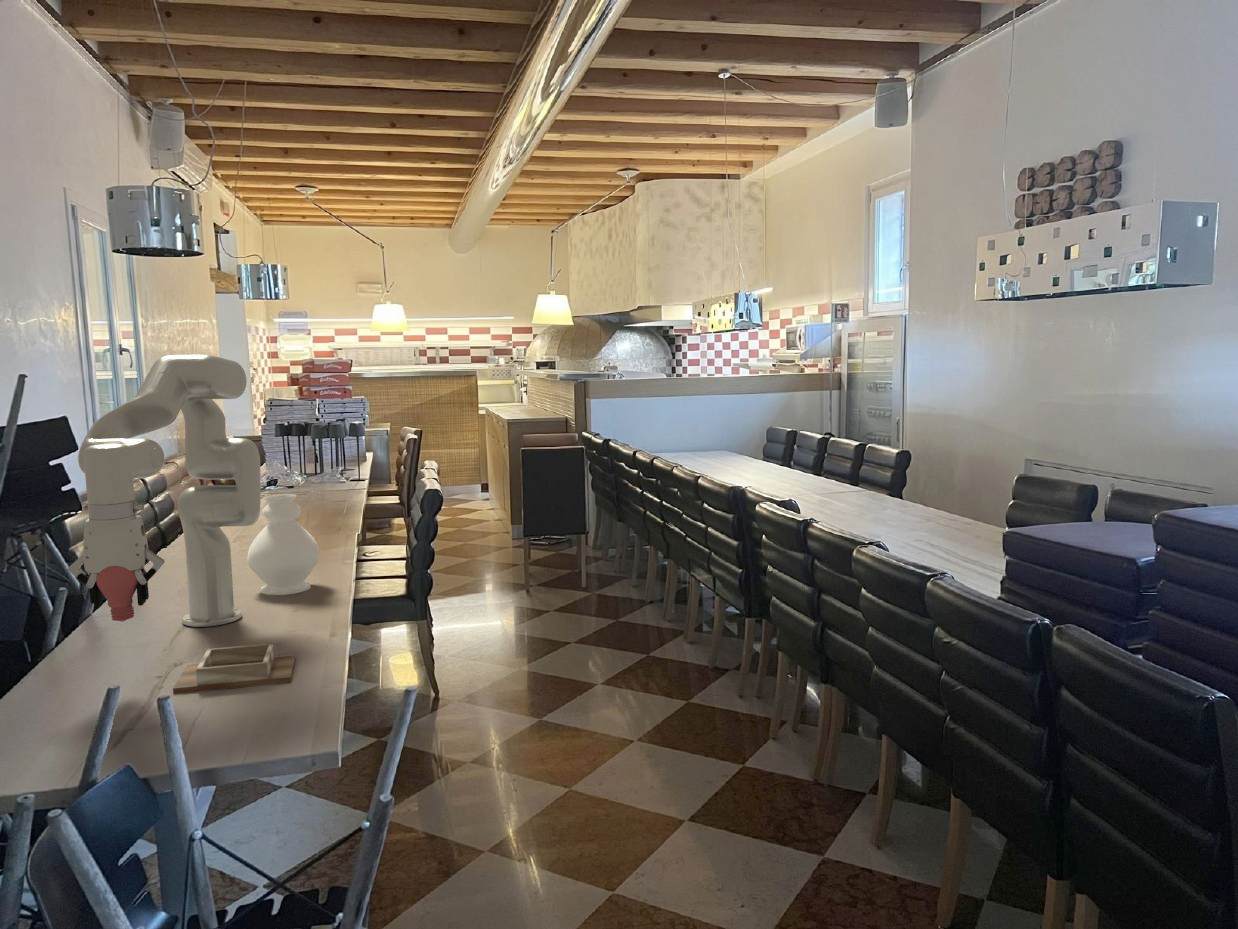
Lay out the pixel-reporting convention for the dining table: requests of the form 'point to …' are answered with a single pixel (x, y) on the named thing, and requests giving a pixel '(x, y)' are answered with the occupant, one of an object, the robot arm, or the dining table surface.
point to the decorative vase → (283, 549)
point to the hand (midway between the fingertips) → (120, 604)
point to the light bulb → (118, 590)
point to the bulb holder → (236, 669)
